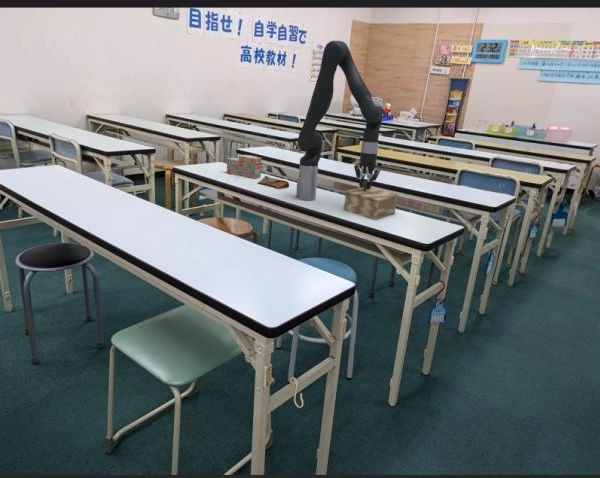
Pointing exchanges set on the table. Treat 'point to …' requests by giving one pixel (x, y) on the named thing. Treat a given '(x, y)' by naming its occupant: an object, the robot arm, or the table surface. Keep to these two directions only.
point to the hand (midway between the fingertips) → (364, 188)
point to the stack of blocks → (245, 166)
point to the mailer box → (369, 207)
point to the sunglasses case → (274, 183)
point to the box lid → (371, 193)
